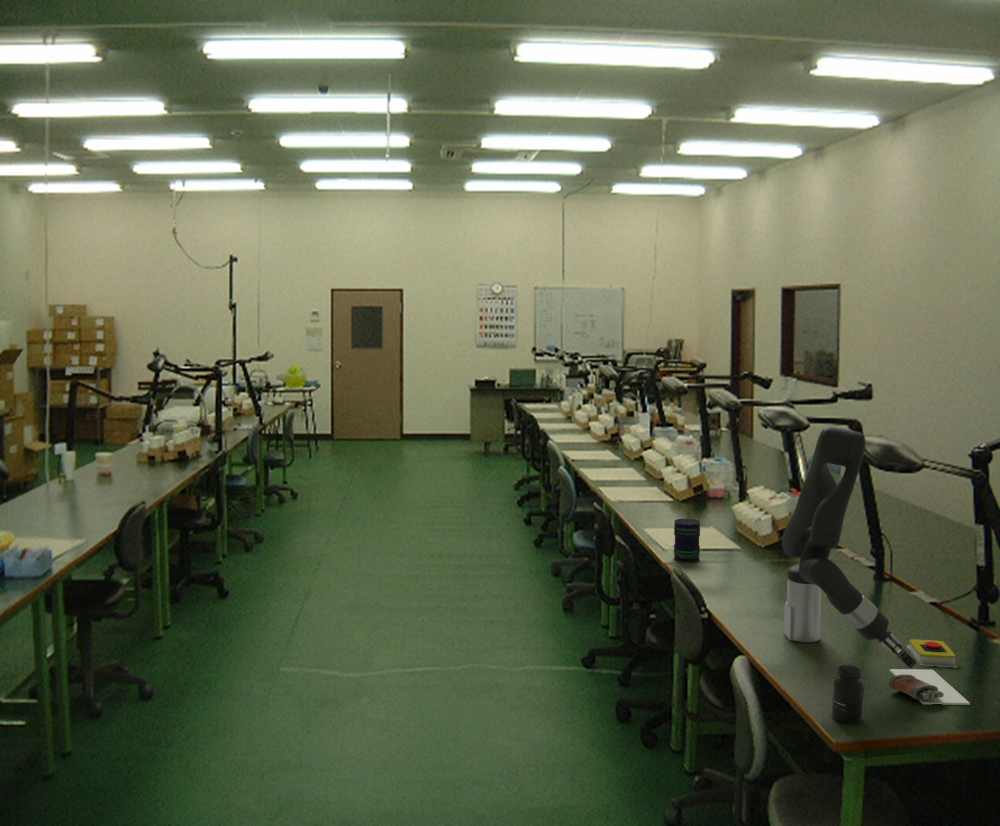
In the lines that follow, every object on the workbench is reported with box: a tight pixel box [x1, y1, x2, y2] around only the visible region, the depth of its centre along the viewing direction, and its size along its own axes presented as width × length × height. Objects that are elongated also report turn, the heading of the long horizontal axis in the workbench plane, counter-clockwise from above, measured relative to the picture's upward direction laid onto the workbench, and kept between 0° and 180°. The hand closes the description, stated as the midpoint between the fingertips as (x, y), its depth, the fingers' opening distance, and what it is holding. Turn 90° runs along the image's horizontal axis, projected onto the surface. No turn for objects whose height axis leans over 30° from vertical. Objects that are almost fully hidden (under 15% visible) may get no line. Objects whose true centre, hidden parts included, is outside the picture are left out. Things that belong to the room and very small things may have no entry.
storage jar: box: [673, 518, 701, 564], centre depth 335 cm, size 10×10×15 cm
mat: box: [889, 668, 971, 706], centre depth 218 cm, size 11×20×1 cm, turn 177°
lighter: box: [888, 674, 944, 701], centre depth 212 cm, size 8×3×10 cm
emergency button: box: [906, 638, 958, 669], centre depth 238 cm, size 9×4×15 cm
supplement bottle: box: [830, 664, 865, 725], centre depth 201 cm, size 7×7×12 cm
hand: (912, 664), depth 217 cm, fingers closed
